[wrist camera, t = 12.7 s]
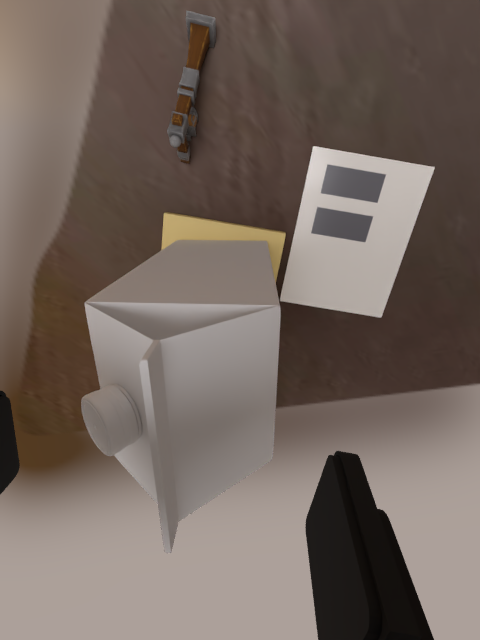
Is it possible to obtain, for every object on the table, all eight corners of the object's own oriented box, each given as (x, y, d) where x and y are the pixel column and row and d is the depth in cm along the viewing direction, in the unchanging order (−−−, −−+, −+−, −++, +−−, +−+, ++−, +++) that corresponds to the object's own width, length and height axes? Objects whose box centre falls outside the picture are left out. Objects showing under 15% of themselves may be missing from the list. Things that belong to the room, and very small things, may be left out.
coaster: (285, 232, 26) (286, 233, 25) (263, 337, 29) (263, 342, 28) (167, 212, 26) (163, 213, 25) (160, 320, 29) (156, 325, 28)
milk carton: (267, 239, 25) (294, 364, 7) (264, 323, 28) (279, 560, 10) (177, 238, 25) (-3, 356, 8) (183, 322, 28) (60, 548, 10)
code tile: (432, 167, 24) (435, 167, 23) (380, 316, 28) (381, 317, 28) (312, 146, 24) (313, 145, 23) (279, 299, 28) (279, 301, 28)
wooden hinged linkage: (170, 171, 24) (156, 135, 19) (193, 67, 24) (185, 7, 19) (194, 177, 24) (186, 142, 19) (217, 73, 24) (215, 14, 19)
